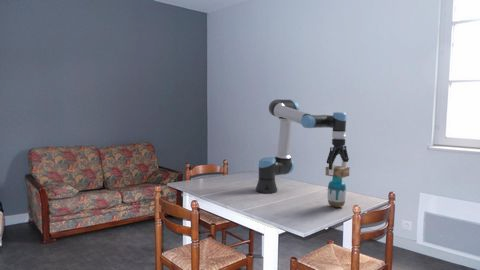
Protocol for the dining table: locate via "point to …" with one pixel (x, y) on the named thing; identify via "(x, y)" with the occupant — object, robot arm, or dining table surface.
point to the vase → (336, 192)
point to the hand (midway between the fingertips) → (337, 173)
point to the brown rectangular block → (339, 171)
